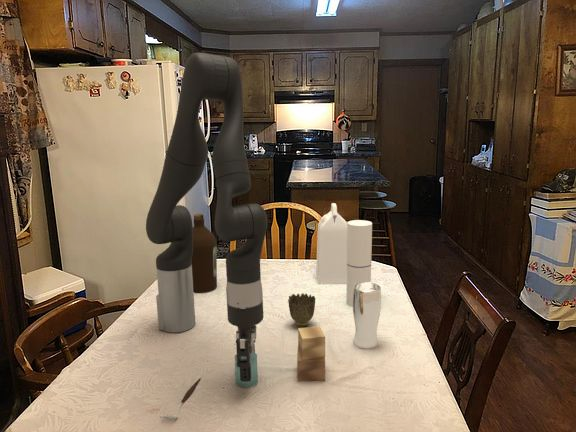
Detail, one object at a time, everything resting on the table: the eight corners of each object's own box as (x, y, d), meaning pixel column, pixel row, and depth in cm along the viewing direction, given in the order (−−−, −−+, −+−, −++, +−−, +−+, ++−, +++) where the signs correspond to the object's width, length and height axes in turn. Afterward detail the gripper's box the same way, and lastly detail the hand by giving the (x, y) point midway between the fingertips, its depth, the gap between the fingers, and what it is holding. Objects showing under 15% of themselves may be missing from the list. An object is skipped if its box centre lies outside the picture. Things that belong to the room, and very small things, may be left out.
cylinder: (234, 387, 100) (233, 362, 99) (237, 375, 105) (236, 350, 103) (256, 387, 100) (255, 362, 98) (258, 375, 104) (258, 350, 103)
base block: (297, 381, 102) (297, 360, 101) (297, 366, 108) (297, 346, 107) (325, 381, 102) (325, 360, 101) (324, 366, 108) (324, 346, 106)
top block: (302, 360, 101) (302, 338, 100) (298, 348, 106) (298, 328, 105) (325, 357, 102) (325, 336, 101) (319, 346, 107) (320, 326, 105)
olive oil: (186, 295, 150) (181, 219, 145) (186, 283, 161) (181, 212, 155) (220, 292, 153) (216, 217, 147) (217, 280, 163) (214, 210, 157)
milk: (352, 284, 158) (353, 208, 152) (317, 284, 158) (317, 208, 152) (348, 272, 170) (349, 201, 164) (316, 272, 170) (316, 201, 164)
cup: (313, 332, 124) (313, 304, 122) (286, 330, 125) (285, 302, 124) (317, 320, 131) (317, 293, 129) (291, 318, 132) (291, 291, 131)
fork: (205, 381, 103) (205, 372, 103) (172, 427, 88) (171, 418, 88) (194, 379, 104) (194, 371, 103) (159, 425, 89) (158, 416, 88)
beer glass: (362, 352, 113) (364, 294, 110) (346, 340, 119) (347, 284, 116) (385, 345, 116) (387, 288, 113) (368, 334, 122) (369, 280, 119)
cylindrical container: (343, 306, 140) (344, 224, 135) (349, 297, 147) (350, 219, 141) (367, 309, 138) (369, 226, 132) (372, 300, 144) (374, 221, 139)
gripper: (231, 287, 105) (235, 353, 109) (221, 313, 91) (225, 388, 95) (265, 286, 105) (267, 353, 108) (259, 312, 91) (262, 388, 94)
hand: (248, 369), depth 101 cm, fingers open, 8 cm apart
